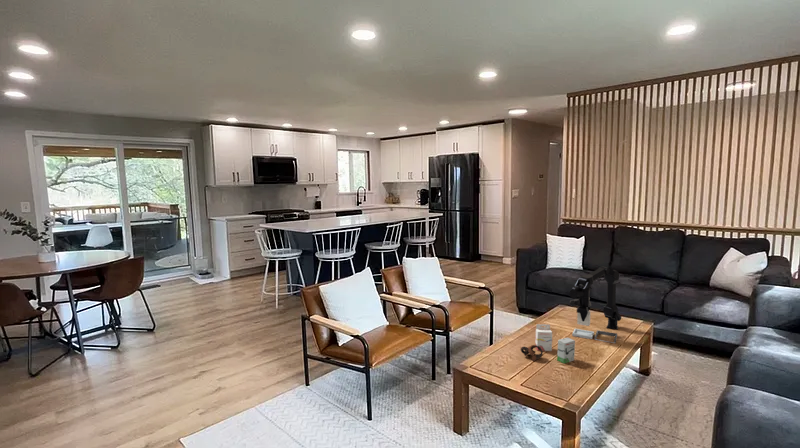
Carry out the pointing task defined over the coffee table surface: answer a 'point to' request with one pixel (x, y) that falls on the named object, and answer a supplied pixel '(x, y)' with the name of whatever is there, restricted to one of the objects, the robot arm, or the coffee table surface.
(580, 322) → the cream box grey panel
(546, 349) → the ink cartridge box
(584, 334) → the tray
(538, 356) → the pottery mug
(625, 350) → the coffee table surface
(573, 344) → the ink box
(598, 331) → the grey flat square frame
